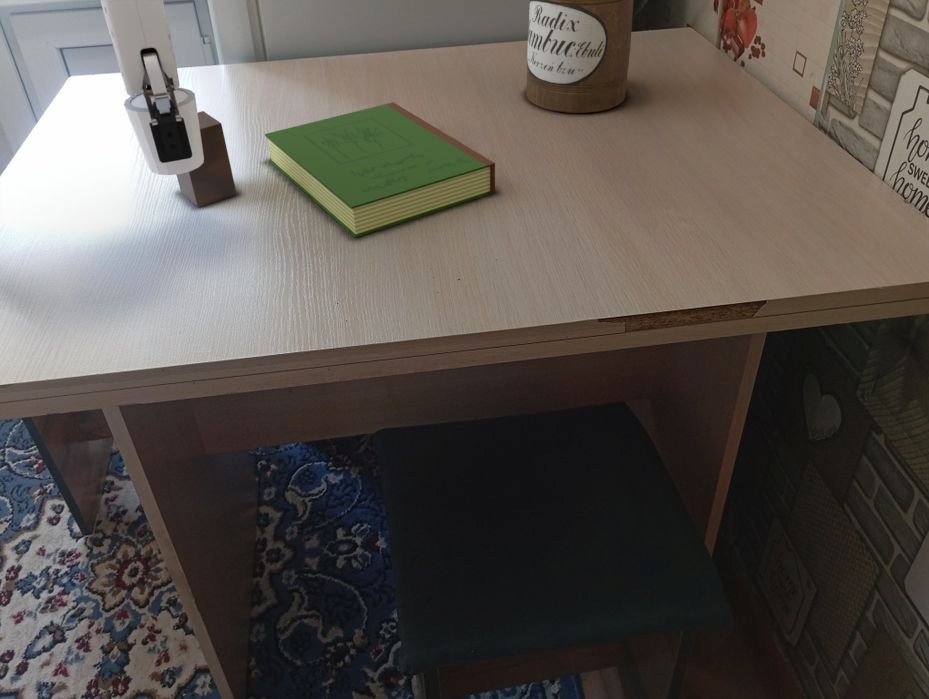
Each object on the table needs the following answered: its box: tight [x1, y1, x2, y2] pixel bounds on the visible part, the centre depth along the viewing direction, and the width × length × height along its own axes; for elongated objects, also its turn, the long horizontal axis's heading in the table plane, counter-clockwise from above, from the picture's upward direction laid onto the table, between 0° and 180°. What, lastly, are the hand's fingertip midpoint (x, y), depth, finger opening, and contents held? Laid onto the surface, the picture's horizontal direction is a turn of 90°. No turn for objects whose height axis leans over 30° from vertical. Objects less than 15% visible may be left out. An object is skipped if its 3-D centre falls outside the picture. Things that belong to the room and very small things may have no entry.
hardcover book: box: [264, 101, 496, 239], centre depth 97 cm, size 25×19×4 cm
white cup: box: [123, 87, 204, 176], centre depth 81 cm, size 7×7×7 cm
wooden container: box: [526, 0, 635, 114], centre depth 112 cm, size 15×15×22 cm
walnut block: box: [175, 110, 238, 208], centre depth 92 cm, size 5×5×9 cm
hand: (171, 144), depth 81 cm, fingers closed on white cup, 6 cm apart
